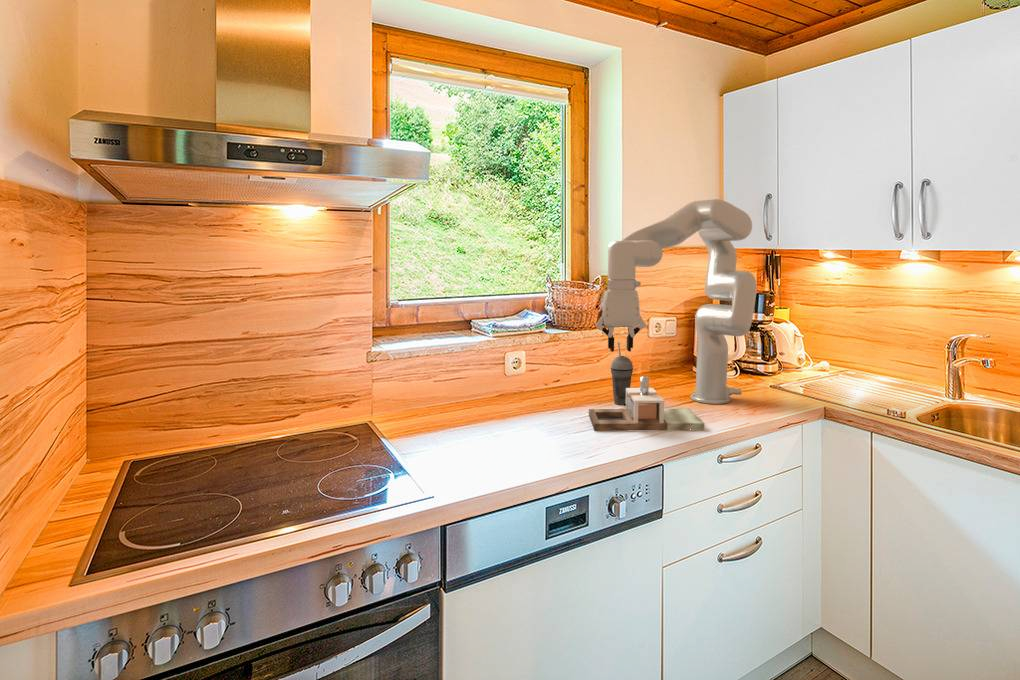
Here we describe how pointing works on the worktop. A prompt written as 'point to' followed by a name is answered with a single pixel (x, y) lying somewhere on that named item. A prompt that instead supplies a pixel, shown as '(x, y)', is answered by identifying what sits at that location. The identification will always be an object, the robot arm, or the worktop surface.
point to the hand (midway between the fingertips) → (620, 350)
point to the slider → (643, 391)
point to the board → (643, 420)
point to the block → (647, 410)
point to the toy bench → (645, 401)
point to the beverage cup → (621, 377)
